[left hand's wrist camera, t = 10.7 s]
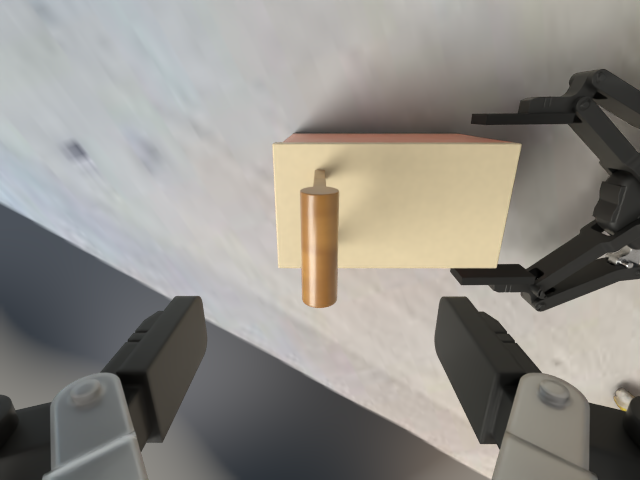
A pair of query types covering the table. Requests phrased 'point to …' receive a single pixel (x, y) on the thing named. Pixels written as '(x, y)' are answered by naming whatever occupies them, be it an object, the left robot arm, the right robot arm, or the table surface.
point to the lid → (389, 207)
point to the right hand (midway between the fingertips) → (465, 203)
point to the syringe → (623, 398)
